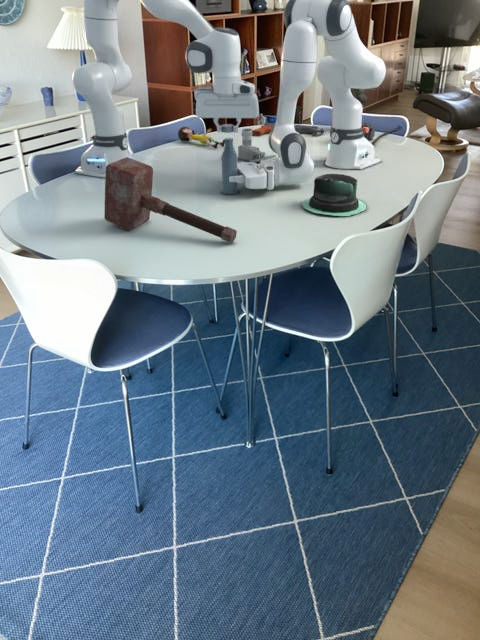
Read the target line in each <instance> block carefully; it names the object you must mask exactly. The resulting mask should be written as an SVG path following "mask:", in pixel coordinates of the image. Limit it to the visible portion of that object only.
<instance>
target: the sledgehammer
mask: <svg viewBox="0 0 480 640" xmlns="http://www.w3.org/2000/svg"><path fill="white" fill-rule="evenodd" d="M153 183H154V168H153V167H152V166H151V165H150V164H147V163H144V162H142V161H138V160H136V159H133V158H132V157H130V158H128V157H126V158H123V159H121V160H118V161H116V162H113V163H110V164H108V165H107V166H106V177H105V179H104V217H103V218H104V220H105V221H106V222H107V223H110V224H113V225H115V226H118V227H120V228H122V229H124V230H127V231H129V232H130V231H132V230H134V229H136V228H138V227H140V226H142V225H144V224H146V223H147V222H148V221H149V220H150V217H151V212H152V213H154V214H159V215H162V216H166V217H169V218H170V219H174V220H175V221H179V222H180V223H183V224H186V225H188V226H191V227H192V228H196V229H198V230H200V231H203V232H205V233H208V234H211V235H212V236H215V237H218V238H220V239H221V240H222V241H225V242H227V243H229V244H232V243H234V241H235V240H236V238H237V233H238V231H237V229H234V228H232V227H229V226H228V225H227V226H224V225H222V224H219V223H217V222H214V221H212V220H209V219H207V218H204V217H201V216H199V215H196V214H194V213H192V212H190V211H187V210H184V209H181V208H180V207H177V206H175V205H172V204H170V203H169V202H167V201H164V200H163V199H161V198H159V197H156V196H153Z"/></svg>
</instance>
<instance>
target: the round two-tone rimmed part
mask: <svg viewBox="0 0 480 640" xmlns="http://www.w3.org/2000/svg"><path fill="white" fill-rule="evenodd" d="M313 186H314V187H313V195H312V196H311V197H309V198H307V199H305V200H304V201H302V203H301V206H302V208H303V209H305V210H307V211H309V212H311V213H315V214H319V215H320V214H321V215H327V216H335V217H337V216H338V217H349V216H353V215H358V214H360V213H361V212H365V210H366V209H367V205H366V203H365V202H363V201H362V200H360V199H358V198H357V189H358V179H356V178H355V177H353V176H351V175H347V174H340V173H326V174H322V175H319V176H316V177H315V178H314V180H313Z"/></svg>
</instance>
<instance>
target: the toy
mask: <svg viewBox="0 0 480 640" xmlns="http://www.w3.org/2000/svg"><path fill="white" fill-rule="evenodd" d="M361 127H362V128H363V127H368V128H369V129H368V133H365V132H363V134H364V137H365V138H366V139H367V140H368V141H369V142H373V140H374V138H375V133H376V129H375V127H374V126H372V123H370V122H363V124H361Z"/></svg>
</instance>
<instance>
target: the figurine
mask: <svg viewBox="0 0 480 640" xmlns="http://www.w3.org/2000/svg"><path fill="white" fill-rule="evenodd" d="M210 132H212V128H209V129H207V130H206V132H205V133H204V134H202V135H201V134H198V133H195V130H193V129H191V128H189V127H188V126H182V127H180V128H179V129H178V132H177V137H178V139H179V141H182V142H191V141H192V140H194V141H198V142H200V143H201V144H203V145H204V146H210V147H212V148H214V149H215V150H216V149H218V145H219V146H221V147H225V140H224V139H222V141H218V140H216V139H215V138H213V137H212V136H207V135H208V134H209V133H210Z"/></svg>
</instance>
